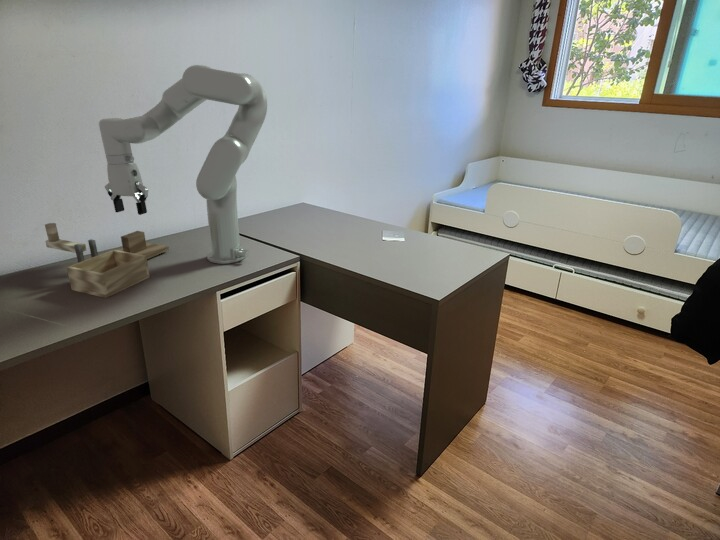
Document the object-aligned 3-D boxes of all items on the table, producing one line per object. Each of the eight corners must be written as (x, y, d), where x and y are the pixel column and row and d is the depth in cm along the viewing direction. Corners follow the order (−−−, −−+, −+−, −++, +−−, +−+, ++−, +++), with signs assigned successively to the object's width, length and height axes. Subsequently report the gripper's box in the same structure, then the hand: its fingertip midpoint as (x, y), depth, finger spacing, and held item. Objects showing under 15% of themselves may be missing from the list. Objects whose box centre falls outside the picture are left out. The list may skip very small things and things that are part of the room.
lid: (169, 252, 164) (166, 230, 161) (132, 268, 150) (128, 244, 147) (140, 247, 168) (136, 225, 165) (101, 262, 154) (96, 238, 151)
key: (86, 250, 139) (81, 227, 136) (78, 253, 137) (73, 230, 134) (55, 244, 143) (50, 222, 141) (46, 247, 141) (41, 224, 138)
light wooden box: (149, 277, 143) (143, 241, 138) (106, 298, 129) (98, 258, 124) (112, 269, 148) (105, 234, 143) (66, 288, 134) (57, 250, 129)
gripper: (150, 158, 147) (160, 211, 153) (109, 156, 153) (120, 207, 159) (131, 162, 140) (142, 217, 147) (89, 160, 146) (102, 213, 153)
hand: (131, 212), depth 153 cm, fingers open, 9 cm apart
